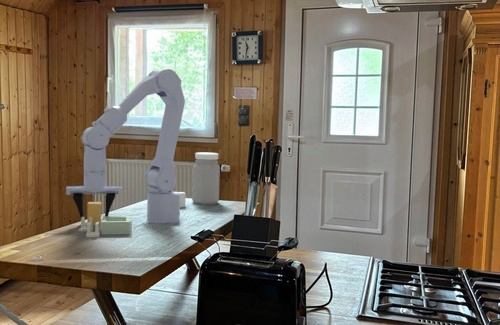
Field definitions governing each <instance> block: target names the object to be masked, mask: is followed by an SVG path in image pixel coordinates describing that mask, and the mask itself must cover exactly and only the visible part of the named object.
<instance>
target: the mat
mask: <svg viewBox="0 0 500 325" xmlns="http://www.w3.org/2000/svg"><path fill="white" fill-rule="evenodd" d="M132 224H133V222H132V221H130V234H104V235H101V230H102V221H101V226H99V232H100V234H99V237H86V234H87V231H80V230H79V233H78V236H77V238H76V240H77V239H80V240H81V239H82V240H83V239H123V238H124V239H125V238H127V239H128V238H131V239H132V238H133V232H132V231H133V230H132V229H133V227H132V226H133V225H132ZM85 226H87V221H85ZM91 232H95V226H93V230H92V231H91Z"/></svg>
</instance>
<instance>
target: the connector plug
mask: <svg viewBox="0 0 500 325" xmlns="http://www.w3.org/2000/svg"><path fill="white" fill-rule="evenodd" d="M90 217H93V226H95V224H96V222H99V226H101V222H102V201H88V202H87V219H86V220H87V221H86V222H87V223H88V222H89V218H90Z"/></svg>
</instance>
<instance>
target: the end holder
mask: <svg viewBox="0 0 500 325" xmlns="http://www.w3.org/2000/svg"><path fill="white" fill-rule="evenodd" d="M101 222H102V230H101V235H104V234H130V222H131V216H130V215H129V216H128V215H127V216H126V215H124V216H122V215H121V216H117V215H115V216H114V215H112V216H111V215H110V216H109V215H108V216H105V215H104V216H102V218H101Z"/></svg>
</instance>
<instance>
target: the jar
mask: <svg viewBox="0 0 500 325" xmlns="http://www.w3.org/2000/svg"><path fill="white" fill-rule="evenodd" d="M194 156H195V159H196V160H195V161H194V162H195V164H194V165H193V167H192V191H191V192H192V194H191V195H192V196H191V200H192V202H193V203H194V204H196V205H201V206H213V205H217V203H218V202H219V200H220V177H221V176H220V172H221V171H220V170H221V168H220V165H219V161H218V159H219V153H217V152H210V151H209V152H207V151H206V152H202V151H201V152H200V151H199V152H195V153H194Z"/></svg>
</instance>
